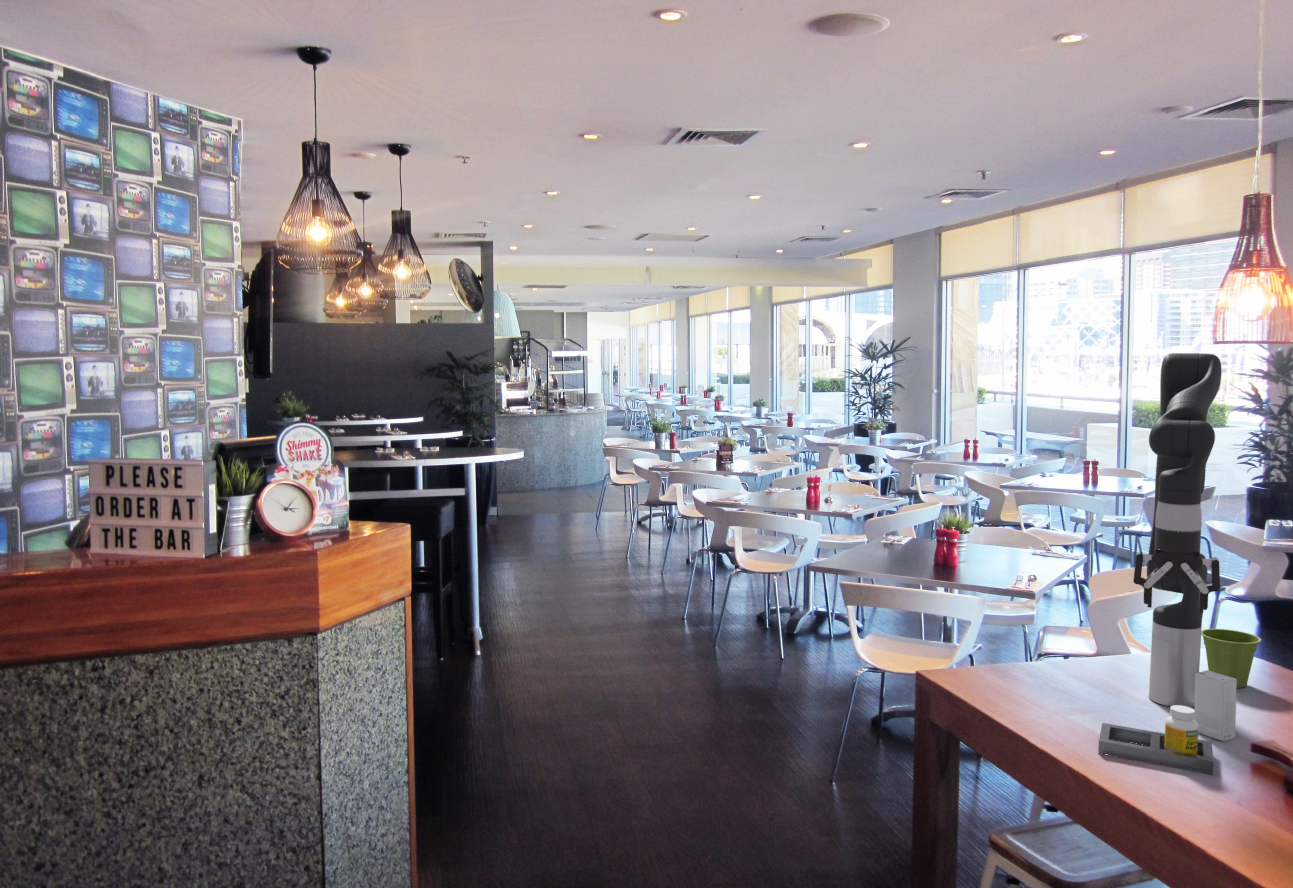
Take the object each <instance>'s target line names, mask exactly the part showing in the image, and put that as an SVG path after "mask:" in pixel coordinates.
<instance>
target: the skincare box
mask: <svg viewBox="0 0 1293 888" xmlns="http://www.w3.org/2000/svg"><path fill="white" fill-rule="evenodd" d="M1236 686H1237V679H1235V678H1232V677H1228V676H1225V675H1222V674H1218V673H1215V672H1212V671H1209V670H1208V669H1207V670H1204V671H1203V670H1202V671H1199V673H1195V707H1193V708H1194V710H1195V718H1194V719H1193V720H1195V721H1196V722H1197V724H1198V727H1199V728H1198V734H1199V733H1200V734H1202V735H1204V736H1207V737H1210V738H1212V739H1215V740H1218V741H1221V742H1227V741H1230V740H1234V739H1235V738H1236V721H1237V720H1236V718H1237V717H1236V716H1237V714H1236V713H1237V688H1236Z"/></svg>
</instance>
